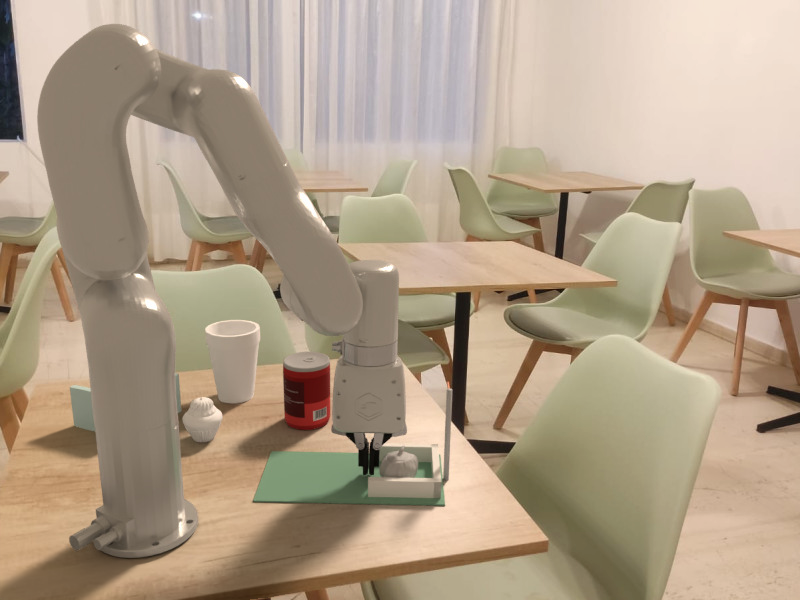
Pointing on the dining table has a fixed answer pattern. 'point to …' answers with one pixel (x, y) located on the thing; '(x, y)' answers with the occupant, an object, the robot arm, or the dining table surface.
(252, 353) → the foam cup
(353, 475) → the felt mat
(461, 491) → the dining table surface
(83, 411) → the right angle wall
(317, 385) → the canned food
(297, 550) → the dining table surface
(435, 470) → the white u-shaped frame
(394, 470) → the garlic
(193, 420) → the muffin
